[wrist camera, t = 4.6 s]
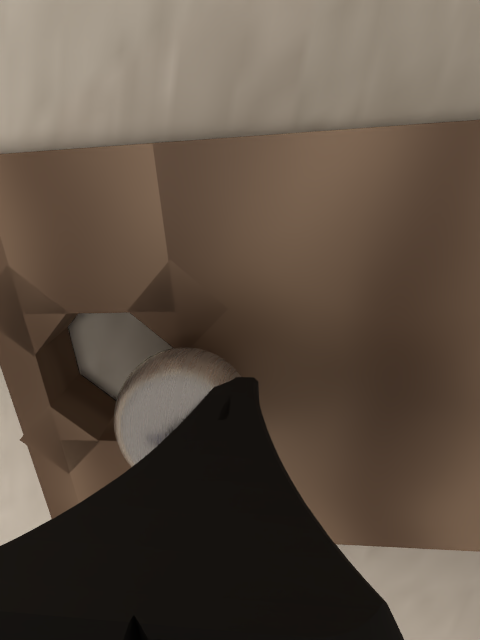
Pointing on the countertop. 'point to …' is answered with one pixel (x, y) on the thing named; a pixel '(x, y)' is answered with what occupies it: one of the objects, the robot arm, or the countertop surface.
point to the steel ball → (164, 397)
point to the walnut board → (267, 308)
